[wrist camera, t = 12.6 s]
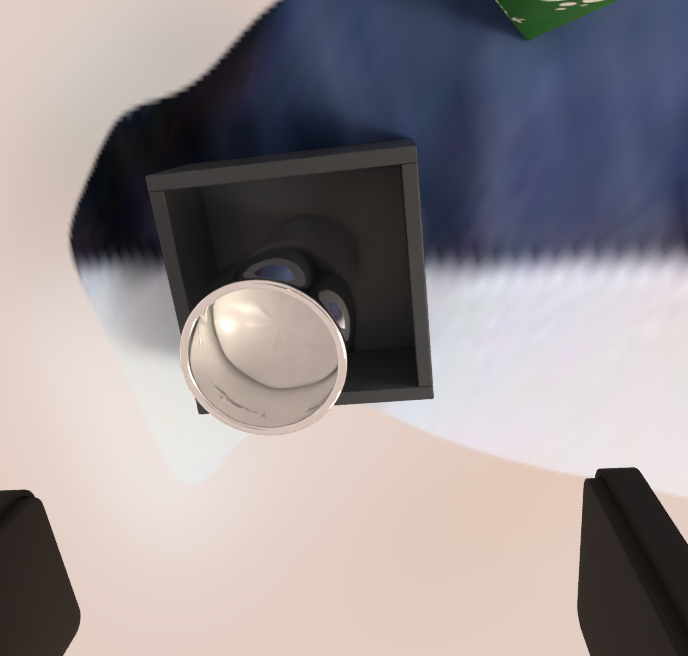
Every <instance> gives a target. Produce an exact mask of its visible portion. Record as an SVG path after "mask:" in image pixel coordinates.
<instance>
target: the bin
mask: <svg viewBox="0 0 688 656" xmlns="http://www.w3.org/2000/svg"><path fill="white" fill-rule="evenodd" d="M417 161H418V159H417V146H416V144H415V143H414V141H413V140H412V139H411V138H409V139H401V140H392V141H383V142H375V143H366V144H357V145H349V146H340V147H331V148H323V149H314V150H306V151H297V152H288V153H280V154H271V155H262V156H254V157H245V158H237V159H228V160H219V161H211V162H202V163H193V164H187V165H184V166H180V167H176V168H173V169H169V170H165V171H162V172H158V173H155V174H151V175H147V176H145V178H146V183H147V187H148V191H149V196H150V200H151V204H152V209H153V213H154V218H155V222H156V227H157V231H158V235H159V240H160V244H161V249H162V253H163V258H164V262H165V266H166V271H167V275H168V280H169V284H170V289H171V293H172V297H173V302H174V306H175V311H176V315H177V320H178V324H179V328H180V333H181V335H182V331H183V328H184V325H185V323H186V321H187V319H188V317H189V315H190V314H191V312H192V311H193V309H194V308H195V307H196V306H197V305H198V303H199V302H200V301H201V299H202V298H203V296H204V295H205V293H206V292H207V290H208V289H209V287H210V286H211V285H212V283H213V282H214V281H215V280H216V279H217V278H218V276H219V275H220V274H221V273H222V272H223V271H224V270H225V269H226V268H227V267H228V266H229V265H230V264H232V263H233V262H234V261H235V260H237V259H238V258H239V257H240V256H242V255H243V254H245V253H247V252H248V251H250V250H253V249H255V248H257V247H259V246H262V245H264V244H267V242H268V240H269V238H270V237H271V235H272V234H273V233H274V232H275V230H276V229H277V228H279V227H280V226H281V225H283V224H284V223H286V222H288V221H290V220H292V219H295V218H299V217H305V216H315V217H321V218H324V219H327V220H330V221H332V222H334V223H336V224H337V225H339V226H340V227H341V228H343V229H344V230H345V231H346V232H347V233H348V235H349V236H350V237H351V239H352V240H353V242H354V244H355V246H356V248H357V251H358V254H359V259H360V273H359V277H358V281H357V283H356V286H355V288H354V290H355V294H356V299H357V303H358V310H359V323H358V336H357V341H356V346H355V350H354V354H353V358H352V361H351V364H350V366H349V369H348V372H347V374H346V379H345V383H344V386H343V389H342V391H341V393H340V395H339V397H338V399H337V401H336V402H335V404H334V405H347V404H362V403H377V402H392V401H407V400H422V399H433V398H434V393H433V379H432V364H431V349H430V335H429V320H428V306H427V291H426V276H425V262H424V247H423V232H422V218H421V203H420V189H419V174H418V163H417ZM195 399H196V398H195ZM196 402H197V403H196V404H197V408H198V412H199V414H210V413H209V412H208V411H207V410H206V409H205V408H204V407H203V406H202V405H201V404H200V403H199V402H198V401H197V399H196Z"/></svg>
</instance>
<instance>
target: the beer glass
mask: <svg viewBox="0 0 688 656" xmlns="http://www.w3.org/2000/svg"><path fill="white" fill-rule="evenodd" d="M359 273H360V259H359V254H358V251H357V248H356V246H355V244H354V242H353V240H352V239H351V237H350V236H349V235H348V233H347V232H346V231H345V230H344V229H343V228H341V227H340V226H339V225H337V224H336V223H334V222H332V221H330V220H327V219H324V218H321V217H315V216H305V217H299V218H295V219H292V220H290V221H288V222H286V223H284V224H283V225H281V226H280V227H279V228H277V229H276V230H275V232H274V233H273V234H272V235H271V237H270V238H269V240H268V242H267V244H264V245H262V246H259V247H257V248H255V249H253V250H250V251H248V252H247V253H245V254H243V255H242V256H240V257H239V258H238V259H237V260H235V261H234V262H233V263H232V264H230V265H229V266H228V267H227V268H226V269H225V270H224V271H223V272H222V273H221V274H220V275H219V276H218V278H217V279H216V280H215V281H214V282H213V283H212V285H211V286H210V287H209V289H208V290H207V292H206V293H205V295H204V296H203V298H202V299H201V301H200V302H199V303H198V305H197V306H196V307H195V308H194V309H193V311H192V312H191V314H190V315H189V317H188V319H187V321H186V323H185V325H184V328H183V331H182V335H181V340H180V363H181V368H182V372H183V375H184V378H185V380H186V383H187V385H188V387H189V389H190V390H191V392H192V394H193V395H194V397H195V398H196V399H197V401H198V402H199V403H200V404H201V405H202V406H203V407H204V408H205V409H206V410H207V411H208V412H209V413H210V414H212V415H213V416H214V417H215V418H217V419H218V420H220V421H221V422H223V423H225V424H227V425H229V426H231V427H233V428H235V429H238V430H241V431H244V432H248V433H252V434H259V435H281V434H287V433H292V432H295V431H298V430H301V429H303V428H305V427H308V426H310V425H311V424H313V423H315V422H316V421H318V420H319V419H320V418H321V417H323V416H324V415H325V414H326V413H327V412H328V411H329V410H330V409H331V408H332V406H333V405H334V404H335V402H336V401H337V399H338V397H339V395H340V393H341V391H342V389H343V386H344V383H345V379H346V374H347V372H348V369H349V366H350V364H351V361H352V358H353V354H354V350H355V346H356V341H357V336H358V323H359V310H358V303H357V299H356V294H355V290H354V288H355V286H356V283H357V281H358V277H359Z"/></svg>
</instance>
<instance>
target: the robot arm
mask: <svg viewBox="0 0 688 656" xmlns="http://www.w3.org/2000/svg"><path fill="white" fill-rule="evenodd" d="M583 490H584V491H583V509H582V527H581V545H580V563H579V582H578V601H577V609H578V617H579V623H580V627H581V630H582V633H583V636H584V639H585V642H586V645H587V648H588V651H589V653H590V656H688V544H687V542H686V541H685V539H684V538H683V536H682V535H681V534H680V532H679V530H678V529H677V527H676V526H675V524H674V523H673V521H672V520H671V518H670V517H669V515H668V513H667V512H666V511H665V509H664V507H663V506H662V504H661V503H660V501H659V500H658V498H657V497H656V495H655V494H654V492H653V491H652V489H651V488H650V486H649V484H648V483H647V481H646V480H645V478H644V477H643V475H642V474H641V472H640V471H639V470H638V469H637V468H634V467H632V468H605V469H598V470H597V472H596V474H595V478H587V479H585V482H584V489H583ZM79 624H80V609H79V606H78V603H77V600H76V598H75V595H74V592H73V589H72V586H71V583H70V580H69V577H68V574H67V572H66V569H65V566H64V563H63V560H62V557H61V555H60V552H59V549H58V546H57V543H56V540H55V537H54V534H53V531H52V529H51V526H50V523H49V520H48V517H47V514H46V511H45V509H44V506H43V503H42V502H41V500H39V499H38V498H35V496H34V494H32V493H31V492H30V491H28V490H4V491H3V490H2V491H0V656H63V655H64V653H65V652H66V649H67V648H68V647H69V645H70V643H71V641H72V640H73V638H74V636H75V635H76V633H77V631H78V628H79Z"/></svg>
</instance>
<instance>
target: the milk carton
mask: <svg viewBox="0 0 688 656" xmlns="http://www.w3.org/2000/svg"><path fill="white" fill-rule="evenodd" d="M494 1H495V2H496V3H497V4H498V6H499V7H500V8H501V9H502V11H503V12H504V13H505V14H506V16H507V17H508V18H509V19H510V21H511V22H512V23H513V24H514V26H515V27H516V28H517V29H518V30H519V32H520V33H521V34H522V35H523V37H524V38H525V39H526V40H527V41H529V40H531V39H533V38H535V37H537V36H539V35H542V34H544V33H546V32H548V31H551V30H553V29H555V28H558V27H560V26H562V25H564V24H567V23H569V22H571V21H573V20H576V19H578V18H580V17H582V16H585V15H587V14H589V13H591V12H593V11H596V10H598V9H600V8H602V7H605V6H607V5H609V4H611V3H613V2H615V1H617V0H494Z"/></svg>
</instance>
